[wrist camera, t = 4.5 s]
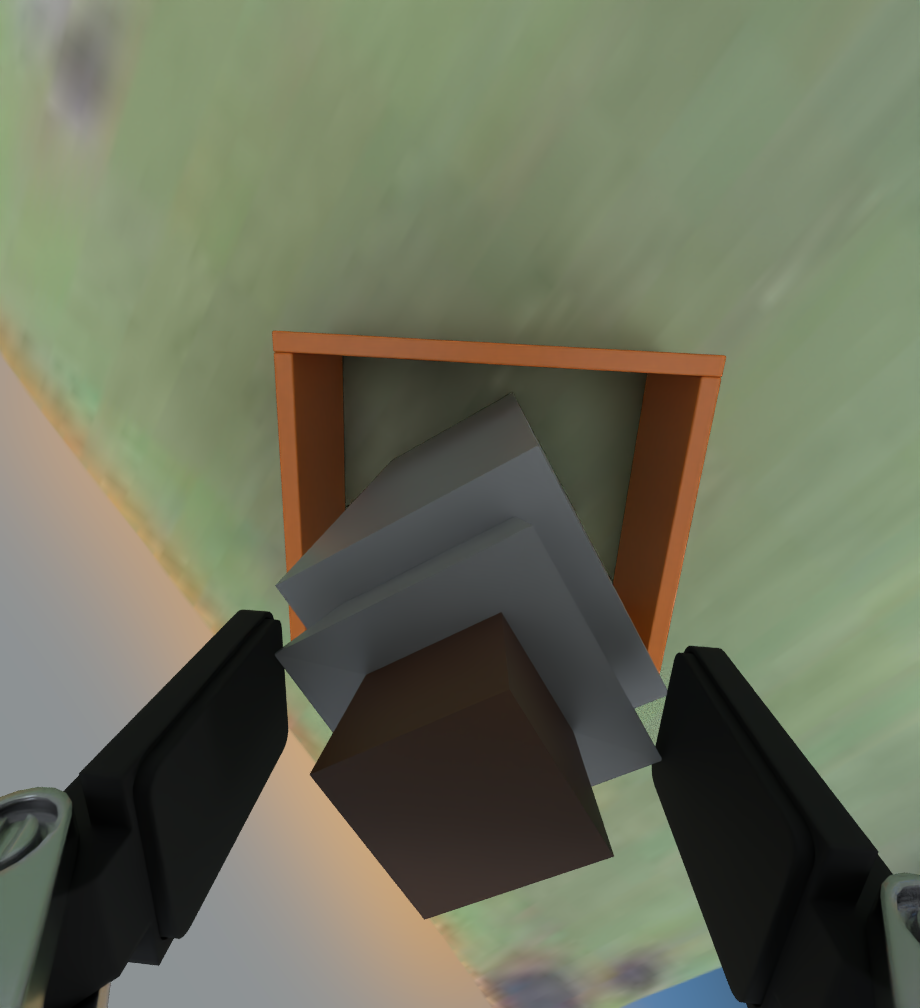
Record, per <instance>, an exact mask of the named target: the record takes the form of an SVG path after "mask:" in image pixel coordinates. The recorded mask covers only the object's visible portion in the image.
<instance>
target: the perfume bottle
mask: <svg viewBox="0 0 920 1008" xmlns="http://www.w3.org/2000/svg"><path fill="white" fill-rule="evenodd" d="M275 586H276V587H277V589H278V590H279V591H280V593H281V594H282V595H283V597H284V598H285V600H286V601H287V602H288V604H289V605H290V606H291V608H292V609H293V611H294V612H295V613H296V615H297V616H298V617H299V619H300V620H301V622H302V623H303V624H304V626H305V627H306V629H307V630H306V631H304V632H303V633H302V634H300V635H299V636H298V637H296V638H295V639H293V640H292V641H291V642H289V643H288V644H287V645H285V646H284V647H283V648H281V649H280V650H278V651H277V652H276V653H275V657H276V658H277V659H278V660H279V662H280V663H281V664H282V666H283V667H284V668H285V670H286V671H287V672H288V674H289V675H290V676H291V678H292V679H293V680H294V682H295V683H296V684H297V686H298V687H299V688H300V690H301V691H302V692H303V694H304V695H305V696H306V697H307V699H308V700H309V701H310V703H311V704H312V705H313V707H314V708H315V709H316V711H317V712H318V713H319V715H320V716H321V717H322V719H323V720H324V721H325V723H326V724H327V725H328V727H329V728H330V729H331V731H332V732H333V734H332V736H331V738H330V739H329V741H328V743H327V745H326V746H325V748H324V750H323V752H322V753H321V755H320V757H319V759H318V761H317V762H316V764H315V766H314V768H313V769H312V771H311V773H310V776H311V777H312V778H313V779H314V781H315V782H316V783H317V784H318V786H319V787H320V788H321V790H322V791H323V792H324V793H325V795H326V796H327V797H328V798H329V800H330V801H331V802H332V804H333V805H334V806H335V807H336V808H337V810H338V811H339V812H340V814H341V815H342V816H343V817H344V819H345V820H346V821H347V822H348V824H349V825H350V826H351V827H352V828H353V830H354V831H355V832H356V834H357V835H358V836H359V838H360V839H361V840H362V841H363V843H364V844H365V845H366V846H367V848H368V849H369V850H370V851H371V853H372V854H373V855H374V857H375V858H376V859H377V860H378V862H379V863H380V864H381V865H382V867H383V868H384V869H385V870H386V872H387V873H388V874H389V875H390V877H391V878H392V879H393V880H394V882H395V883H396V884H397V886H398V887H399V888H400V889H401V891H402V892H403V893H404V894H405V896H406V897H407V898H408V899H409V900H410V902H411V903H412V904H413V906H414V907H415V908H416V909H417V911H418V912H419V913H420V914H421V916H422V917H423V918H424V919H428V918H431V917H434V916H437V915H440V914H443V913H446V912H449V911H452V910H455V909H458V908H461V907H464V906H467V905H470V904H473V903H476V902H479V901H482V900H485V899H488V898H491V897H494V896H497V895H500V894H503V893H506V892H509V891H512V890H515V889H518V888H521V887H524V886H527V885H530V884H533V883H536V882H539V881H542V880H545V879H548V878H551V877H554V876H557V875H560V874H563V873H566V872H569V871H572V870H575V869H578V868H581V867H584V866H587V865H590V864H593V863H596V862H599V861H602V860H605V859H608V858H611V857H614V855H613V852H612V849H611V845H610V842H609V839H608V836H607V833H606V830H605V827H604V824H603V821H602V818H601V815H600V812H599V809H598V806H597V803H596V799H595V796H594V793H593V790H592V786H594V785H597V784H600V783H603V782H605V781H608V780H611V779H613V778H616V777H619V776H622V775H624V774H627V773H630V772H632V771H635V770H638V769H641V768H643V767H646V766H649V765H651V764H654V763H657V762H660V761H661V759H662V758H661V756H660V755H659V753H658V751H657V749H656V747H655V746H654V744H653V742H652V740H651V738H650V736H649V735H648V733H647V731H646V729H645V727H644V726H643V724H642V722H641V720H640V718H639V717H638V715H637V713H636V711H635V709H634V708H636V707H639V706H642V705H644V704H647V703H649V702H652V701H654V700H657V699H659V698H662V697H664V696H667V691H668V690H667V688H666V686H665V684H664V682H663V680H662V679H661V677H660V675H659V673H658V671H657V669H656V667H655V665H654V663H653V661H652V659H651V657H650V655H649V653H648V651H647V650H646V648H645V646H644V644H643V642H642V640H641V638H640V636H639V634H638V632H637V630H636V628H635V626H634V624H633V622H632V620H631V619H630V617H629V615H628V613H627V611H626V609H625V607H624V605H623V603H622V601H621V599H620V597H619V595H618V593H617V591H616V589H615V588H614V586H613V584H612V582H611V580H610V578H609V576H608V574H607V572H606V570H605V568H604V566H603V564H602V562H601V560H600V558H599V557H598V555H597V553H596V551H595V549H594V547H593V545H592V543H591V541H590V539H589V537H588V535H587V533H586V531H585V529H584V527H583V526H582V524H581V522H580V520H579V518H578V516H577V514H576V512H575V510H574V508H573V506H572V504H571V503H570V501H569V499H568V497H567V495H566V493H565V491H564V489H563V487H562V485H561V484H560V482H559V480H558V478H557V476H556V474H555V472H554V470H553V468H552V466H551V464H550V463H549V461H548V459H547V457H546V455H545V453H544V451H543V449H542V447H541V445H540V444H539V442H538V440H537V438H536V436H535V434H534V432H533V430H532V428H531V426H530V425H529V423H528V421H527V419H526V417H525V415H524V413H523V411H522V409H521V407H520V406H519V404H518V402H517V400H516V398H515V396H514V394H513V392H512V393H511V394H509V395H507V396H505V397H504V398H502V399H500V400H498V401H496V402H495V403H493V404H491V405H489V406H488V407H486V408H484V409H482V410H481V411H479V412H477V413H475V414H473V415H472V416H470V417H468V418H466V419H465V420H463V421H461V422H459V423H457V424H456V425H454V426H452V427H450V428H449V429H447V430H445V431H443V432H442V433H440V434H438V435H436V436H434V437H433V438H431V439H429V440H427V441H426V442H424V443H422V444H420V445H418V446H417V447H415V448H413V449H411V450H410V451H408V452H406V453H404V454H403V455H401V456H399V457H397V458H395V459H394V460H392V461H391V462H390V463H389V464H388V465H387V466H386V467H385V468H384V469H383V470H382V471H381V472H380V474H379V475H378V476H377V477H376V478H375V479H374V480H373V481H372V482H371V483H370V484H369V485H368V486H367V488H366V489H365V490H364V491H363V492H362V493H361V494H360V495H359V496H358V497H357V498H356V499H355V500H354V501H353V503H352V504H351V505H350V506H349V507H348V508H347V509H346V510H345V511H344V512H343V513H342V514H341V515H340V517H339V518H338V519H337V520H336V521H335V522H334V523H333V524H332V525H331V526H330V527H329V528H328V529H327V530H326V532H325V533H324V534H323V535H322V536H321V537H320V538H319V539H318V540H317V541H316V542H315V543H314V544H313V546H312V547H311V548H310V549H309V550H308V551H307V552H306V553H305V554H304V555H303V556H302V557H301V558H300V559H299V561H298V562H297V563H296V564H295V565H294V566H293V567H292V568H291V569H290V570H289V571H288V572H287V573H286V575H285V576H284V577H283V578H282V579H281V580H280V581H279V582H278V583H277V584H276V585H275Z"/></svg>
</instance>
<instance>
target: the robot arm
mask: <svg viewBox="0 0 920 1008" xmlns="http://www.w3.org/2000/svg"><path fill="white" fill-rule="evenodd" d="M281 648H283V641H282V627H281V623H280V621H279V620H274V618H273V615H272V613H270V612H266V611H254V610H240V611H238V612H237V613H236V614H235V615H234V616H233V617H232V618H231V619H230V620H229V621H228V622H227V623H226V624H225V625H224V626H223V627H222V628H221V629H220V630H219V631H218V632H217V633H216V634H215V635H214V636H213V637H212V638H211V639H210V640H209V641H208V642H207V643H206V644H205V646H204V647H203V648H202V649H201V650H200V651H199V652H198V653H197V654H196V655H195V656H194V657H193V658H192V659H191V660H190V661H189V662H188V663H187V664H186V665H185V666H184V667H183V668H182V669H181V670H180V671H179V672H178V673H177V674H176V675H175V676H174V677H173V678H172V679H171V680H170V681H169V682H168V683H167V684H166V685H165V686H164V687H163V688H162V689H161V690H160V691H159V692H158V694H157V695H155V697H153V699H152V700H151V701H150V702H149V703H148V704H147V705H146V706H145V707H144V708H143V709H142V710H141V711H140V712H139V713H138V714H137V715H136V716H135V717H134V718H133V719H132V720H131V721H130V722H129V723H128V724H127V725H126V726H125V727H124V728H123V729H122V730H121V731H120V732H119V733H118V734H117V735H116V736H115V737H114V738H113V739H112V740H111V741H110V742H109V743H108V744H107V746H105V747H104V748H103V750H102V751H101V752H100V753H99V754H98V755H97V756H96V757H95V758H94V759H93V760H92V761H91V762H90V763H89V764H88V765H87V766H86V767H85V768H84V769H83V770H82V771H81V772H80V773H79V776H78V777H77V778H76V779H75V780H74V781H73V782H72V783H71V784H70V785H69V786H68V787H67V788H66V789H65V791H60V790H58V789H56V788H47V787H36V788H30V789H26V790H20V791H16V792H13V793H10V794H8V795H5V796H2V797H0V1008H108V1000H109V992H110V986H111V981H113V980H114V979H116V978H117V977H119V976H120V974H121V973H122V971H123V969H124V968H125V966H126V965H127V963H128V962H132V963H141V964H150V965H158V966H159V965H160V963H161V961H162V959H163V957H164V955H165V954H166V952H167V950H168V948H169V946H170V944H171V943H172V941H173V939H174V938H178V939H180V938H182V937H183V936H184V935H185V934H186V932H187V931H188V930H189V928H190V926H191V925H192V923H193V921H194V919H195V917H196V915H197V913H198V911H199V909H200V907H201V906H202V904H203V902H204V900H205V898H206V896H207V894H208V892H209V890H210V888H211V887H212V885H213V883H214V881H215V879H216V877H217V875H218V873H219V871H220V869H221V868H222V866H223V863H224V862H225V860H226V858H227V856H228V854H229V852H230V850H231V848H232V847H233V845H234V843H235V841H236V839H237V837H238V835H239V833H240V831H241V830H242V827H243V826H244V824H245V822H246V820H247V818H248V816H249V814H250V812H251V810H252V809H253V807H254V805H255V803H256V801H257V799H258V797H259V795H260V793H261V791H262V789H263V787H264V786H265V784H266V782H267V780H268V778H269V776H270V774H271V772H272V770H273V769H274V767H275V765H276V763H277V761H278V759H279V757H280V755H281V753H282V752H283V749H284V747H285V744H286V741H287V737H288V717H287V701H286V686H285V671H284V667H283V666H282V664H281V663H280V662H279V660H278V659H277V658H276V657H275V653H276V652H277V651H278V650H280V649H281ZM656 749H657V751H658V753H659V755H660V756H661V758H662V759H661V761H660V762H657V763H654V764H652V777H653V782H654V785H655V788H656V791H657V793H658V796H659V799H660V801H661V804H662V807H663V809H664V812H665V815H666V817H667V820H668V823H669V825H670V828H671V831H672V834H673V836H674V839H675V842H676V844H677V847H678V850H679V852H680V855H681V858H682V860H683V863H684V866H685V868H686V871H687V874H688V877H689V879H690V882H691V885H692V887H693V890H694V893H695V895H696V898H697V901H698V903H699V906H700V909H701V911H702V914H703V917H704V920H705V922H706V925H707V928H708V930H709V933H710V936H711V938H712V941H713V944H714V946H715V949H716V952H717V954H718V957H719V960H720V963H721V965H722V968H723V971H724V973H725V976H726V979H727V981H728V984H729V986H730V989H731V991H732V993H733V995H734V996H735V998H736V999H737V1000H738V1001H739V1002H744V1003H746V1004H747V1007H748V1008H920V875H917V874H910V873H899V874H894V875H893V874H892V872H891V871H890V870H889V868H888V867H887V866H886V864H885V863H884V862H883V861H882V859H881V858H880V857H879V855H878V851H877V849H876V848H875V847H874V845H873V844H872V843H871V841H870V840H869V839H868V838H867V836H866V835H865V834H864V832H863V831H862V830H861V828H860V827H859V826H858V825H857V823H856V822H855V821H854V819H853V818H852V817H851V815H850V814H849V813H848V812H847V810H846V809H845V808H844V806H843V805H842V804H841V803H840V801H839V800H838V799H837V797H836V796H835V795H834V793H833V792H832V791H831V790H830V788H829V787H828V786H827V784H826V783H825V782H824V780H823V779H822V778H821V777H820V775H819V774H818V773H817V771H816V770H815V769H814V767H813V766H812V765H811V764H810V762H809V761H808V760H807V758H806V757H805V756H804V754H803V753H802V752H801V751H800V749H799V748H798V747H797V745H796V744H795V743H794V742H793V740H792V739H791V738H790V736H789V735H788V734H787V732H786V731H785V730H784V729H783V727H782V726H781V725H780V723H779V722H778V721H777V719H776V718H775V717H774V716H773V714H772V713H771V712H770V710H769V709H768V708H767V706H766V705H765V704H764V703H763V701H762V700H761V699H760V697H759V696H758V695H757V694H756V692H755V691H754V690H753V688H752V687H751V686H750V684H749V683H748V682H747V681H746V679H745V678H744V677H743V675H742V674H741V673H740V671H739V670H738V669H737V668H736V666H735V665H734V664H733V662H732V661H731V660H730V658H729V657H728V656H727V655H726V653H725V652H724V651H723V650H722V649H719V648H710V647H698V646H688V647H687V648H686V649H685V651H684V653H677V654H676V656H675V659H674V663H673V668H672V672H671V677H670V682H669V686H668V691H667V696H666V700H665V705H664V710H663V714H662V719H661V723H660V728H659V733H658V737H657V742H656Z"/></svg>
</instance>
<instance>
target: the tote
mask: <svg viewBox="0 0 920 1008" xmlns="http://www.w3.org/2000/svg"><path fill="white" fill-rule="evenodd" d="M272 336H273V350H274V352H275V353H274V364H275V381H276V398H277V415H278V432H279V449H280V465H281V482H282V499H283V516H284V533H285V550H286V567H287V572H288V571H289V570H290V569H291V568H292V567H293V566H294V565H295V564H296V563H297V562H298V561H299V559H300V558H301V557H302V556H303V555H304V554H305V553H306V552H307V551H308V550H309V549H310V548H311V547H312V546H313V544H314V543H315V542H316V541H317V540H318V539H319V538H320V537H321V536H322V535H323V534H324V533H325V532H326V530H327V529H328V528H329V527H330V526H331V525H332V524H333V523H334V522H335V521H336V520H337V519H338V518H339V517H340V515H341V514H342V513H343V512H344V511H345V470H344V417H343V364H342V356H358V357H375V358H393V359H410V360H428V361H445V362H463V363H480V364H498V365H516V366H533V367H551V368H568V369H586V370H603V371H621V372H638V373H647V378H646V384H645V391H644V397H643V403H642V409H641V415H640V421H639V427H638V433H637V439H636V446H635V452H634V458H633V464H632V470H631V476H630V482H629V488H628V494H627V501H626V507H625V513H624V519H623V525H622V531H621V537H620V543H619V549H618V556H617V562H616V568H615V574H614V580H613V586H614V588H615V589H616V591H617V593H618V595H619V597H620V599H621V601H622V603H623V605H624V607H625V609H626V611H627V613H628V615H629V617H630V619H631V620H632V622H633V624H634V626H635V628H636V630H637V632H638V634H639V636H640V638H641V640H642V642H643V644H644V646H645V648H646V650H647V651H648V653H649V655H650V657H651V659H652V661H653V663H654V665H655V667H656V669H657V671H658V673H659V675H660V670H661V665H662V661H663V656H664V651H665V646H666V641H667V637H668V632H669V627H670V622H671V617H672V613H673V608H674V603H675V598H676V593H677V589H678V584H679V579H680V574H681V569H682V565H683V560H684V555H685V550H686V545H687V541H688V536H689V531H690V526H691V522H692V517H693V512H694V507H695V502H696V498H697V493H698V488H699V483H700V478H701V474H702V469H703V464H704V459H705V454H706V450H707V445H708V440H709V435H710V430H711V426H712V421H713V416H714V411H715V406H716V402H717V397H718V392H719V387H720V382H721V378H720V377H722V374H723V369H724V365H725V360H726V356H725V355H708V354H690V353H671V352H653V351H635V350H617V349H599V348H580V347H562V346H544V345H526V344H508V343H489V342H471V341H453V340H435V339H417V338H398V337H380V336H362V335H344V334H326V333H308V332H289V331H272ZM289 617H290V634H291V641H292V640H293V639H295V638H296V637H298V636H299V635H300V634H302V633H303V632H304V631H306V630H307V629H306V627H305V626H304V624H303V623H302V622H301V620H300V619H299V617H298V616H297V615H296V613H295V612H294V611H293V609H292V608H291V606H290V605H289Z"/></svg>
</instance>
